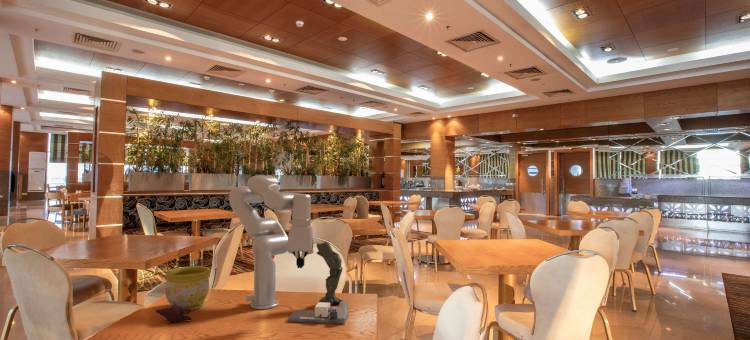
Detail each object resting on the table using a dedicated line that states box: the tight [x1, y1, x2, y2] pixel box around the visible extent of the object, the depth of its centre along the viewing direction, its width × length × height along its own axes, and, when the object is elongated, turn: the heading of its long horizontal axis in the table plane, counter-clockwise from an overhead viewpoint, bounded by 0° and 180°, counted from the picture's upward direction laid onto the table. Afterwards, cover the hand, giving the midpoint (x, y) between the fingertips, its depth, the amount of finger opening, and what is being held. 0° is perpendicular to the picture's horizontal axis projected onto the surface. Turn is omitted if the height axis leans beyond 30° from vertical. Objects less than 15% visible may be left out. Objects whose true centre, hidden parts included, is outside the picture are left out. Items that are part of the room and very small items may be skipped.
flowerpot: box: [164, 265, 211, 311], centre depth 173 cm, size 18×18×16 cm
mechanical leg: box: [315, 240, 344, 307], centre depth 180 cm, size 14×7×30 cm, turn 84°
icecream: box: [155, 304, 192, 323], centre depth 156 cm, size 7×7×15 cm
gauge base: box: [287, 300, 350, 325], centre depth 160 cm, size 23×10×6 cm, turn 84°
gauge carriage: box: [314, 301, 337, 317], centre depth 159 cm, size 8×8×4 cm
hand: (300, 267), depth 162 cm, fingers closed
